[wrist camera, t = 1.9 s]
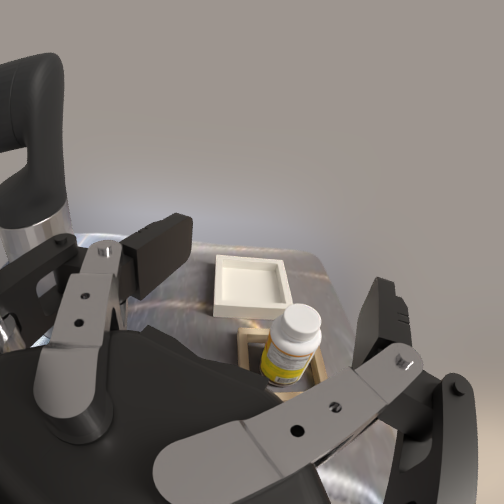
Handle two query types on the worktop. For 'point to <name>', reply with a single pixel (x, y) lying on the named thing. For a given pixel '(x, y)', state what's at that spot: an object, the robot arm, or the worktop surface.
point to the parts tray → (250, 288)
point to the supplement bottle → (291, 345)
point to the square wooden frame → (261, 337)
